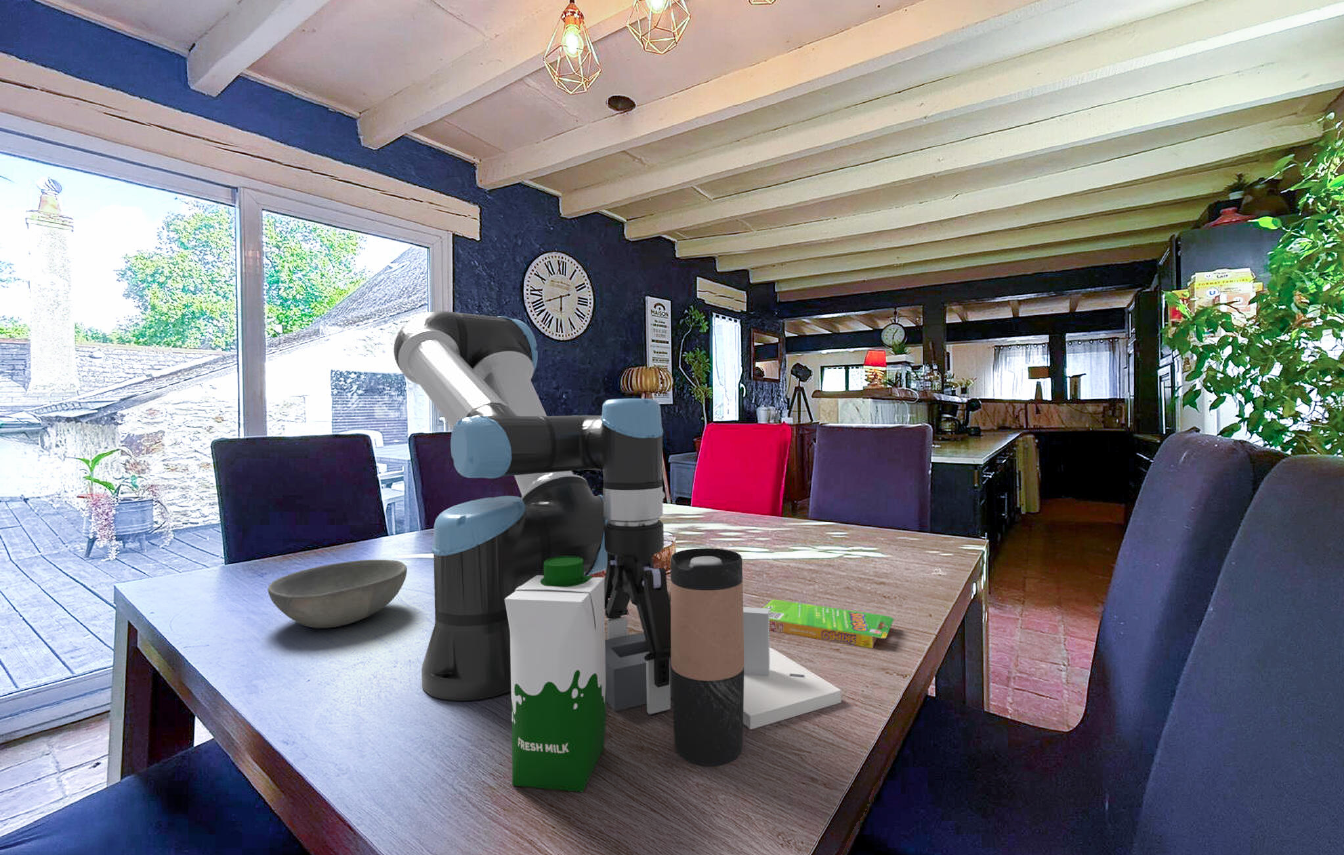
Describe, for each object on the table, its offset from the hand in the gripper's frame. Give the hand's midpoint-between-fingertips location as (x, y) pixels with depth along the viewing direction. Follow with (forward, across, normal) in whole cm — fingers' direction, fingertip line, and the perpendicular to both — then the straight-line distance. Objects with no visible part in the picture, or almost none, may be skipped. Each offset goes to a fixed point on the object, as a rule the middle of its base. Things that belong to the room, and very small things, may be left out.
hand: (636, 686), depth 73 cm
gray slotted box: (0, 0, 0) cm, 0 cm away
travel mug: (0, -15, -2) cm, 15 cm away
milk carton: (0, -12, +13) cm, 18 cm away
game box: (+1, +5, -35) cm, 35 cm away
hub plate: (0, -6, -14) cm, 15 cm away
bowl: (0, +47, +36) cm, 60 cm away
